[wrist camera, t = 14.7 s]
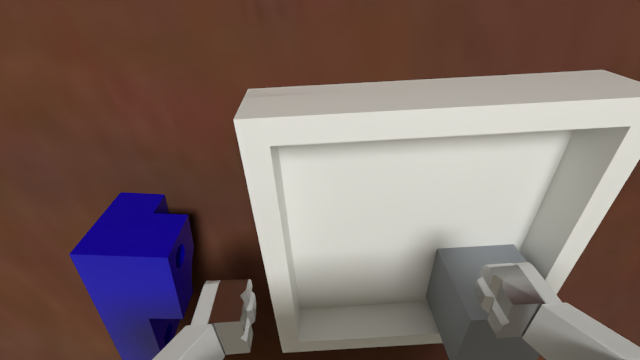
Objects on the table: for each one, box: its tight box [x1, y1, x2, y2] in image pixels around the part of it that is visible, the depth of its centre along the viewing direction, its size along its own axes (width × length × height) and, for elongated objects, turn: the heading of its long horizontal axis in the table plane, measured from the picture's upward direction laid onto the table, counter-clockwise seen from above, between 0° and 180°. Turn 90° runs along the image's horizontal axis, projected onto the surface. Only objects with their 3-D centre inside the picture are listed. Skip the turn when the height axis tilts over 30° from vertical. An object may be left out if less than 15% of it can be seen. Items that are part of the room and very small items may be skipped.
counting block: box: [426, 244, 540, 360], centre depth 16 cm, size 4×4×4 cm
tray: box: [233, 70, 640, 353], centre depth 15 cm, size 14×14×3 cm
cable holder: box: [69, 192, 194, 360], centre depth 16 cm, size 8×4×4 cm, turn 175°
